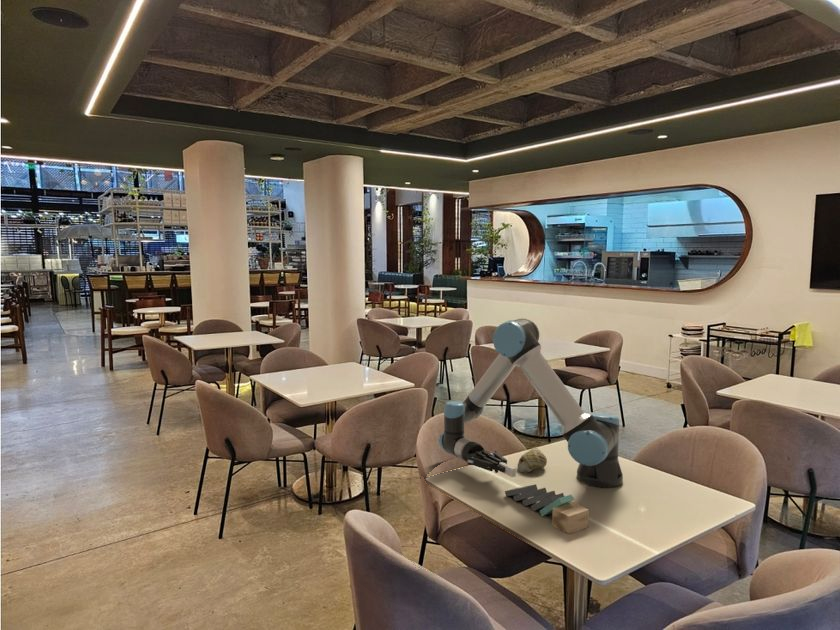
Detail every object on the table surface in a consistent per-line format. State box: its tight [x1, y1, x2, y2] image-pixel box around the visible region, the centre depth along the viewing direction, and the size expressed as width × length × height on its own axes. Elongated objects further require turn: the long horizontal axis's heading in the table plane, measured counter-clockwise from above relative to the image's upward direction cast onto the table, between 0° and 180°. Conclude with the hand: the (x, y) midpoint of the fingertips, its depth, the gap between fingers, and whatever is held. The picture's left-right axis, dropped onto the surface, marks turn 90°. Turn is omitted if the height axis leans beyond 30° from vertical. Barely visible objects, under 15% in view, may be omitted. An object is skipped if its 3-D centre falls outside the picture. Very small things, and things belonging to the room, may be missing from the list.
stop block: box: [551, 501, 590, 535], centre depth 151 cm, size 6×8×5 cm
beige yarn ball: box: [517, 447, 548, 473], centre depth 195 cm, size 10×10×10 cm
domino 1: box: [504, 483, 539, 497], centre depth 169 cm, size 2×5×10 cm
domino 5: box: [539, 494, 575, 517], centre depth 156 cm, size 2×5×10 cm
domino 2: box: [513, 487, 548, 502], centre depth 165 cm, size 2×5×10 cm
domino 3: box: [521, 490, 557, 507], centre depth 162 cm, size 2×5×10 cm
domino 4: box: [530, 492, 565, 512], centre depth 158 cm, size 2×5×10 cm
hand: (513, 472), depth 171 cm, fingers closed
